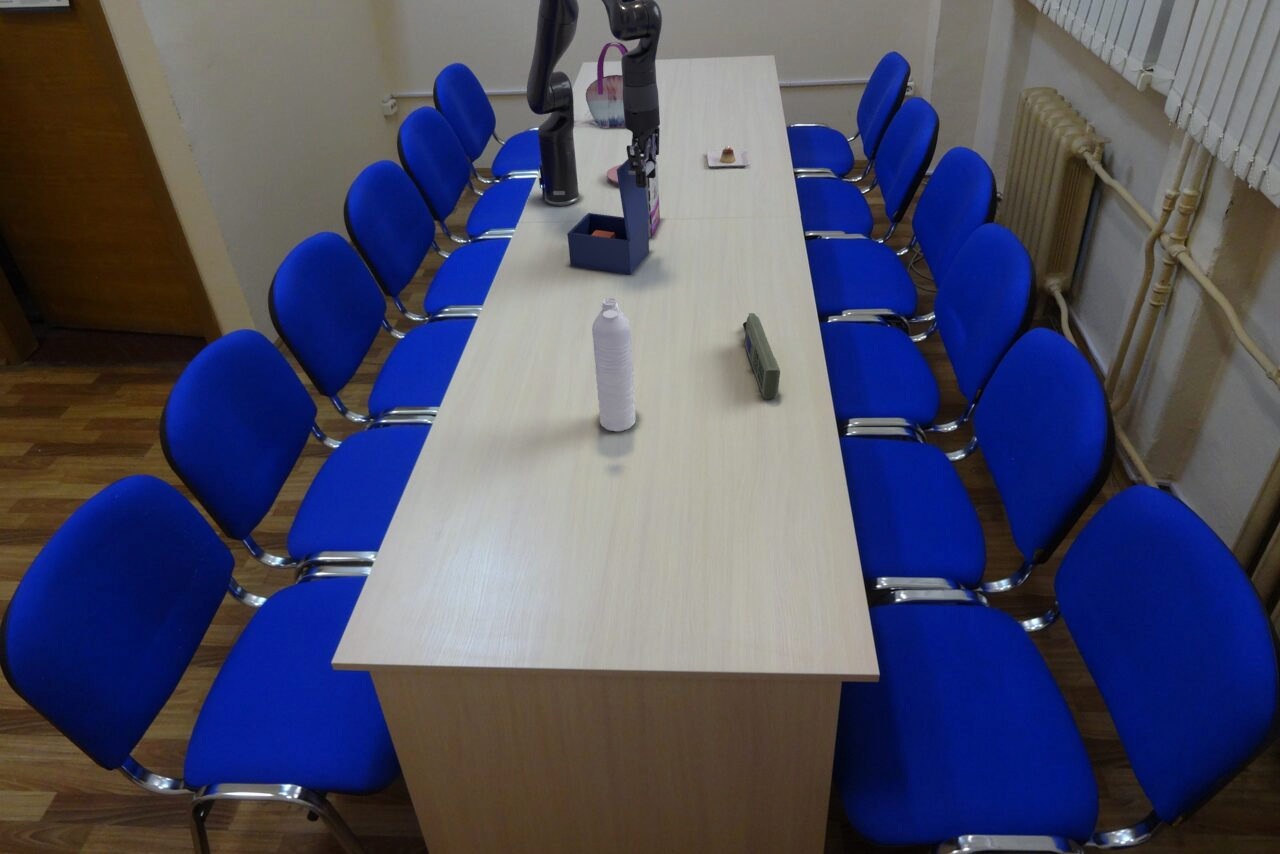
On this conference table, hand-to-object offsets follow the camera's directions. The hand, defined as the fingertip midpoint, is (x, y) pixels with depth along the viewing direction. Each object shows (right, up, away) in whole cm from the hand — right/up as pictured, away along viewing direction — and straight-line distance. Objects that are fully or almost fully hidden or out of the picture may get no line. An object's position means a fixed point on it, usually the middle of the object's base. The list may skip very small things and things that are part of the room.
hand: (646, 181), depth 191 cm
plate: (-4, +16, +55) cm, 57 cm away
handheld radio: (+22, -42, -22) cm, 52 cm away
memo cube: (-10, -13, +16) cm, 23 cm away
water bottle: (-5, -55, -36) cm, 66 cm away
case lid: (-3, -2, +3) cm, 5 cm away
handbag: (-9, +46, +93) cm, 104 cm away
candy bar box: (0, -4, +28) cm, 29 cm away
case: (-9, -14, +16) cm, 23 cm away
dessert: (+25, +24, +62) cm, 71 cm away
